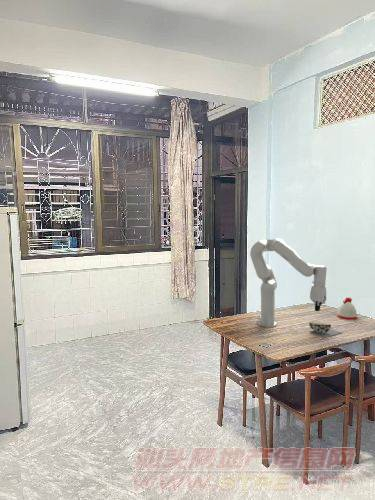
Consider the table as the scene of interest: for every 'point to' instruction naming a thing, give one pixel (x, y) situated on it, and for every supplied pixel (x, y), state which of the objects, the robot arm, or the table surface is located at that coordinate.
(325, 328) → the food container
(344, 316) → the white bobble hat
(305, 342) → the table surface
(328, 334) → the mat
